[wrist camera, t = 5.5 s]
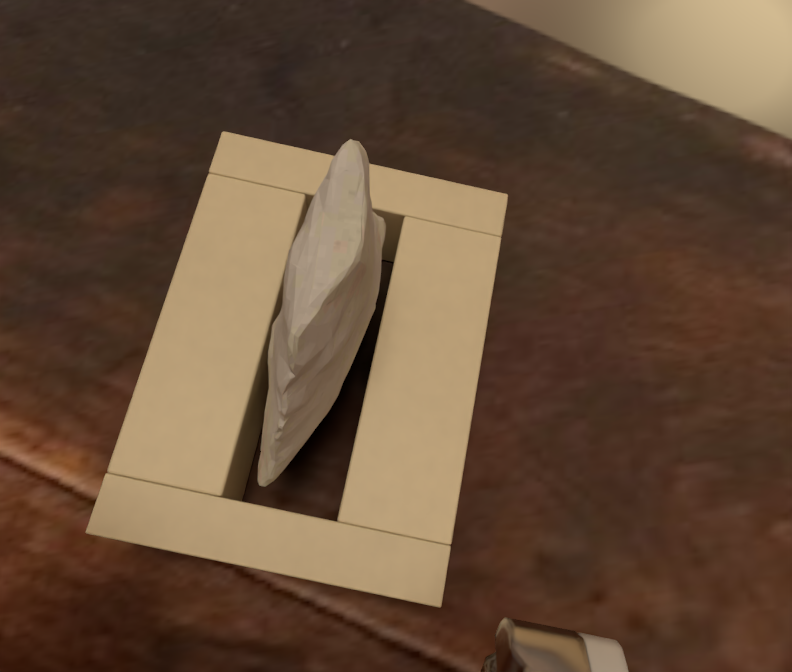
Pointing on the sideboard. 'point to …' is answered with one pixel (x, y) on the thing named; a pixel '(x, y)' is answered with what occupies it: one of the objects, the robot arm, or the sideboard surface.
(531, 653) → the robot arm
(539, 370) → the sideboard surface
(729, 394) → the sideboard surface
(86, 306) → the sideboard surface
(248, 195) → the holder
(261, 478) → the arrowhead
